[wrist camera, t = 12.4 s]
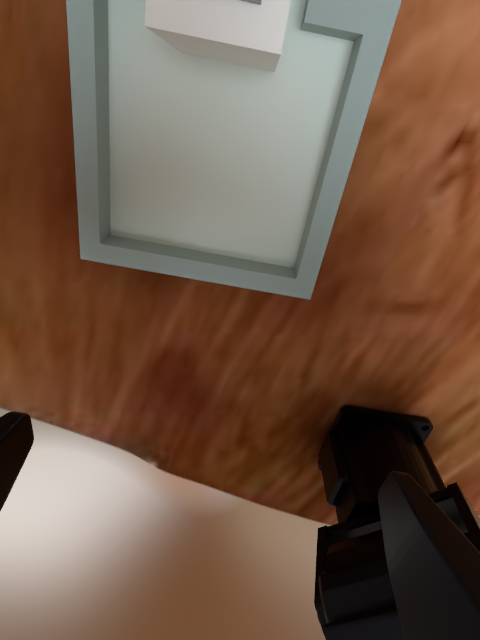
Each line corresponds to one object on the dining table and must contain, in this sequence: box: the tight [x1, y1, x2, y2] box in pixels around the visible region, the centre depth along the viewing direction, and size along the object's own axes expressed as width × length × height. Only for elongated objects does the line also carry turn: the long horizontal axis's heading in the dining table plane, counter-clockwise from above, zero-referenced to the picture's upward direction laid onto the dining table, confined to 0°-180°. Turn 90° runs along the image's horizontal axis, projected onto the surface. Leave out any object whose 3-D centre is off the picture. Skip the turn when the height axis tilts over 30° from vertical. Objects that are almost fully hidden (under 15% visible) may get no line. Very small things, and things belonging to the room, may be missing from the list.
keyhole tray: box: [66, 0, 402, 300], centre depth 15 cm, size 12×19×2 cm, turn 170°
